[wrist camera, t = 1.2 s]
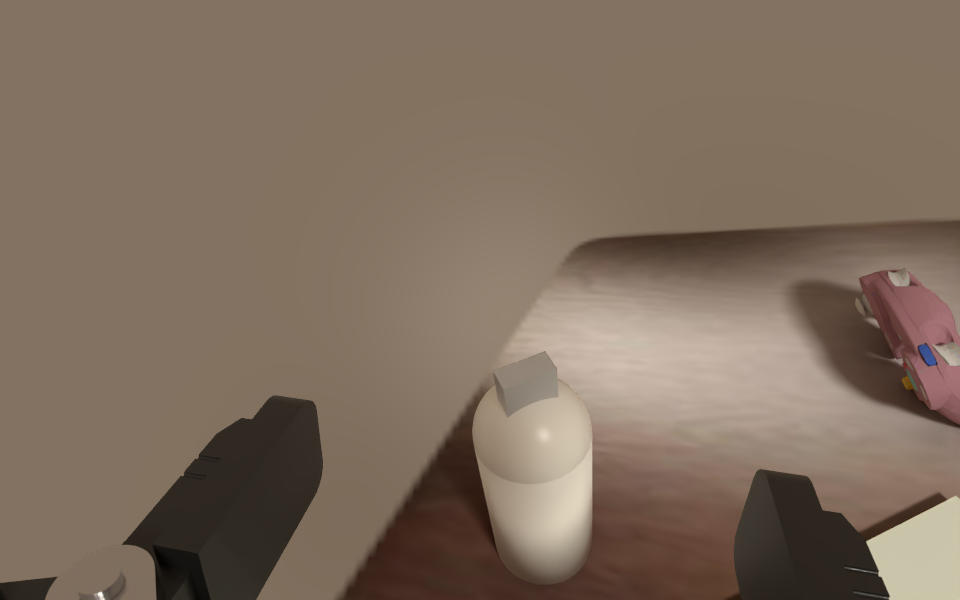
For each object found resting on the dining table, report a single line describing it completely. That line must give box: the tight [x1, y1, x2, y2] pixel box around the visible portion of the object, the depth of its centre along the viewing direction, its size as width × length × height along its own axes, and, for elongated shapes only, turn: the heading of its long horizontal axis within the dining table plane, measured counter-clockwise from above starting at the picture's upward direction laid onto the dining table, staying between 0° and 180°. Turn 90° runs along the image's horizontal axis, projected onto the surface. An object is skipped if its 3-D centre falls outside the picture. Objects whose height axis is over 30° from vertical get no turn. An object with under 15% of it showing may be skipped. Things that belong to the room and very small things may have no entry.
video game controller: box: [855, 268, 960, 425], centre depth 35 cm, size 10×5×7 cm, turn 176°
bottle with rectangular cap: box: [472, 351, 592, 585], centre depth 28 cm, size 5×5×13 cm
